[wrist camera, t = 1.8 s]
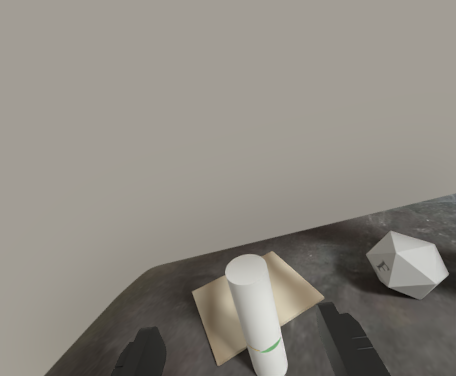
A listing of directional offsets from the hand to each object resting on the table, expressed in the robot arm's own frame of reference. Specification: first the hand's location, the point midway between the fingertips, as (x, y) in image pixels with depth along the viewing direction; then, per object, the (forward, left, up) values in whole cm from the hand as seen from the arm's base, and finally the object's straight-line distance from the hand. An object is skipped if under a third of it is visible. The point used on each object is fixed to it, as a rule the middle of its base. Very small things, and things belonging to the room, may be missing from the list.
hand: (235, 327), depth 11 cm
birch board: (-7, -19, -20) cm, 29 cm away
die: (-27, -8, -20) cm, 35 cm away
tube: (-4, -9, -20) cm, 23 cm away
